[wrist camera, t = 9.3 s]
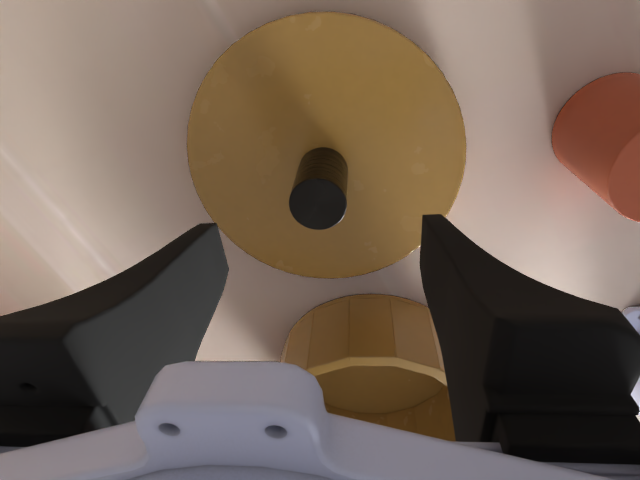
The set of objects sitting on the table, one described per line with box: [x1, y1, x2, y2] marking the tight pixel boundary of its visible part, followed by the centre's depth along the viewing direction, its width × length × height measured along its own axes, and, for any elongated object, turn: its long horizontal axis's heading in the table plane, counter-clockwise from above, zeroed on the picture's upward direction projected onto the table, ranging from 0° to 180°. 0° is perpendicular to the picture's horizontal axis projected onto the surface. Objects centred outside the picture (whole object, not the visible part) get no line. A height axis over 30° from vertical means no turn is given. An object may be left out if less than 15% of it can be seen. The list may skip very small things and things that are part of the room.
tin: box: [280, 294, 456, 442], centre depth 26 cm, size 12×12×5 cm
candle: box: [552, 73, 640, 222], centre depth 16 cm, size 5×5×5 cm
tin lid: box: [187, 11, 466, 278], centre depth 18 cm, size 13×13×5 cm
